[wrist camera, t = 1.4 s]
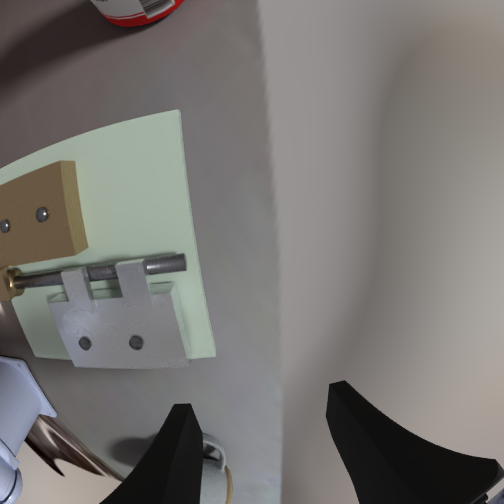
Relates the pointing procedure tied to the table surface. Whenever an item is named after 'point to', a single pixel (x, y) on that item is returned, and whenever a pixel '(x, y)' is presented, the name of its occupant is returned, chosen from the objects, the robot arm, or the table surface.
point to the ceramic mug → (215, 477)
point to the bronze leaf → (51, 230)
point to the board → (122, 220)
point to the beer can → (135, 10)
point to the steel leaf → (121, 321)
